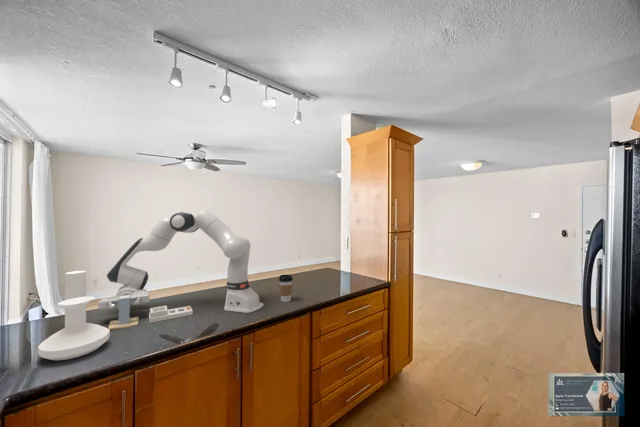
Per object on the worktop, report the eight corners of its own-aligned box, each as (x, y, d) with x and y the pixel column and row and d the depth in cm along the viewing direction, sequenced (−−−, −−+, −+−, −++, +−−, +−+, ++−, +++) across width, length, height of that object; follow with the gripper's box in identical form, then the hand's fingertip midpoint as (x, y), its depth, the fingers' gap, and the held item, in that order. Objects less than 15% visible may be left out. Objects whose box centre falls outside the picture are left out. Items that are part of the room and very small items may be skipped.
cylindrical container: (62, 329, 117) (62, 274, 118) (68, 324, 124) (68, 271, 124) (82, 326, 121) (83, 272, 121) (87, 321, 127) (88, 270, 127)
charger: (119, 321, 125) (119, 296, 125) (129, 319, 127) (130, 294, 127) (118, 325, 121) (118, 299, 121) (129, 323, 123) (129, 297, 123)
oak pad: (110, 323, 125) (110, 320, 125) (138, 318, 131) (138, 316, 131) (107, 331, 116) (107, 329, 116) (137, 325, 122) (137, 323, 122)
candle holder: (122, 338, 109) (122, 292, 110) (79, 366, 89) (79, 310, 90) (73, 339, 109) (74, 293, 109) (19, 366, 89) (20, 310, 89)
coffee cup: (287, 297, 166) (287, 273, 166) (295, 300, 160) (295, 276, 160) (276, 300, 160) (276, 275, 160) (284, 303, 154) (284, 278, 154)
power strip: (149, 322, 125) (149, 313, 126) (149, 316, 133) (149, 308, 133) (192, 314, 136) (192, 306, 136) (190, 309, 144) (190, 301, 144)
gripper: (99, 294, 129) (95, 302, 117) (149, 288, 140) (149, 294, 129) (99, 307, 129) (95, 316, 117) (149, 299, 140) (149, 307, 129)
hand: (124, 304), depth 123 cm, fingers open, 8 cm apart
